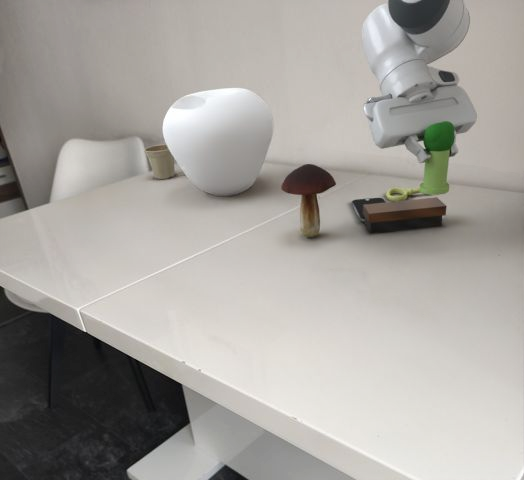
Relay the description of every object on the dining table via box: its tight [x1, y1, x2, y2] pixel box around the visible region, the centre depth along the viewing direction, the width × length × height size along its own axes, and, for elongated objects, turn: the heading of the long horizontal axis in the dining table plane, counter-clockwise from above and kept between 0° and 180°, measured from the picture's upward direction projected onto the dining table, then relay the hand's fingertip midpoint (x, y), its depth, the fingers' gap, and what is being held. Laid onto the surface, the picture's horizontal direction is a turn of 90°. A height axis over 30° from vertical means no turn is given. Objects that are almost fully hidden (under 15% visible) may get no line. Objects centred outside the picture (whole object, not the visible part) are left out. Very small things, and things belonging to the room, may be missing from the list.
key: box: [385, 187, 422, 202], centre depth 131 cm, size 7×12×2 cm, turn 110°
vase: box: [162, 87, 274, 197], centre depth 141 cm, size 28×27×25 cm
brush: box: [363, 196, 448, 234], centre depth 114 cm, size 16×6×4 cm, turn 93°
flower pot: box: [143, 143, 176, 180], centre depth 164 cm, size 9×9×9 cm
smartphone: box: [351, 197, 386, 224], centre depth 124 cm, size 8×1×15 cm
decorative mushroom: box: [280, 163, 337, 239], centre depth 110 cm, size 11×11×15 cm
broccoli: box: [418, 121, 455, 196], centre depth 95 cm, size 6×5×12 cm
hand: (439, 157), depth 95 cm, fingers closed on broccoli, 4 cm apart
